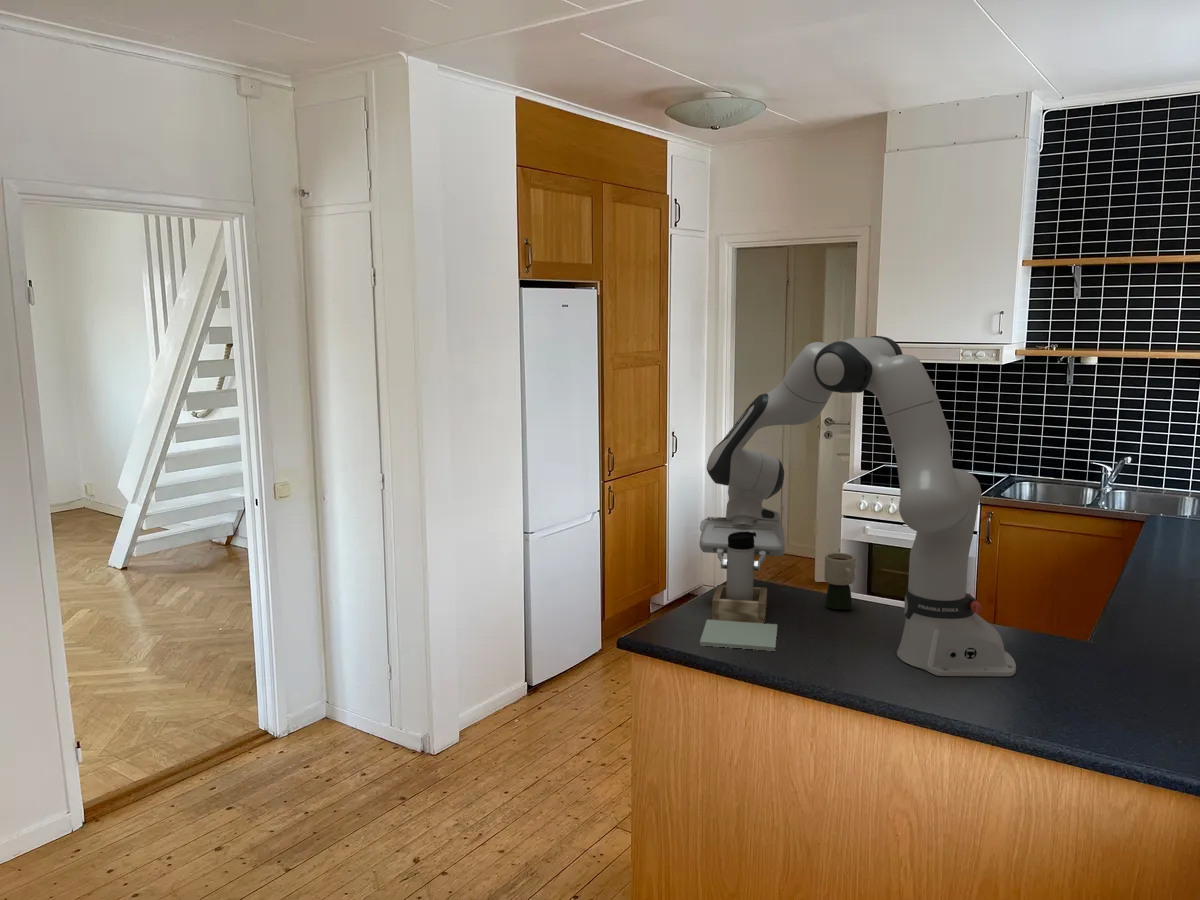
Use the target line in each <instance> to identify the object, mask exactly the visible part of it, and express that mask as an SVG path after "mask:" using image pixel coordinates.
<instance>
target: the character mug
mask: <svg viewBox="0 0 1200 900" xmlns="http://www.w3.org/2000/svg"><path fill="white" fill-rule="evenodd" d="M855 569H856V556H855V555H853V554H850V553H844V552H830V553H829V552H828V553H827V554H825V555H824V574H823V575H824V576H823V577H824V581H825V582H826V583H827V584H828V586H827V590H826V591H827V593H826V597H825V603H824V604H825V607H827V608H829V609H835V610H840V611H843V610H850V609H852V608H853V603H852V602H853V600H852V592H851V591H852V590H851V585H852V584H853V583H854V582H855V581H856V576H855Z"/></svg>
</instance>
